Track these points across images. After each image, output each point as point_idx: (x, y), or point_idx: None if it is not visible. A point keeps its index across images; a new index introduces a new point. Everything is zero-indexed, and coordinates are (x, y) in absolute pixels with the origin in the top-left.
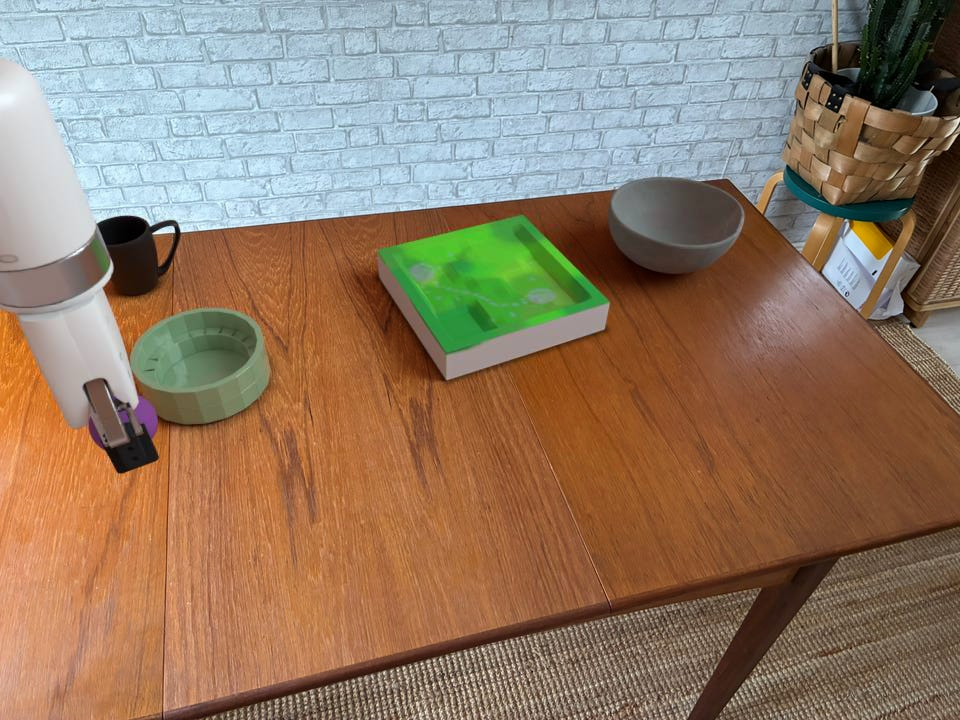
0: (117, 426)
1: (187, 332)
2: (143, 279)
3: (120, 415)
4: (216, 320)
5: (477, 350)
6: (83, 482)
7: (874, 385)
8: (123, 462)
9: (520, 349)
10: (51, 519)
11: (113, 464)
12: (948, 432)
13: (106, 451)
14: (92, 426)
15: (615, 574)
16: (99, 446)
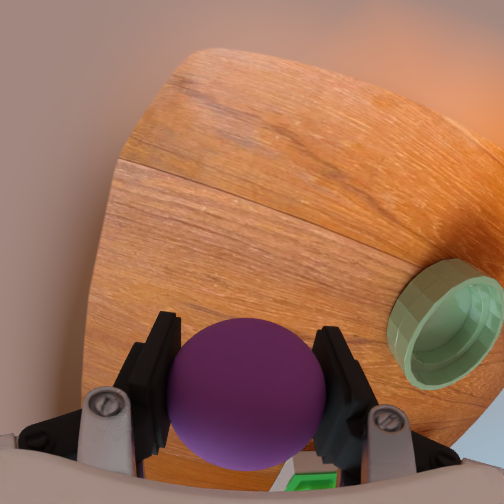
0: None
1: (484, 323)
2: None
3: (197, 446)
4: (474, 353)
5: (286, 480)
6: (411, 171)
7: None
8: (129, 353)
9: (276, 485)
10: (386, 129)
11: (153, 327)
12: None
13: (139, 358)
14: (229, 375)
15: None
16: (208, 331)
